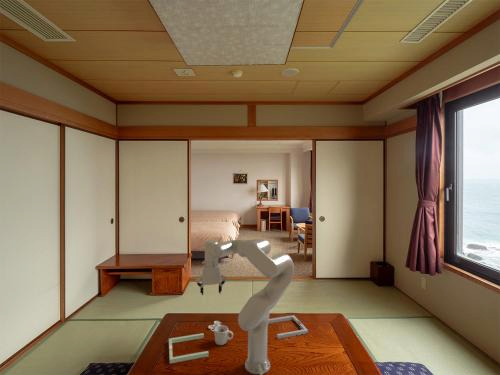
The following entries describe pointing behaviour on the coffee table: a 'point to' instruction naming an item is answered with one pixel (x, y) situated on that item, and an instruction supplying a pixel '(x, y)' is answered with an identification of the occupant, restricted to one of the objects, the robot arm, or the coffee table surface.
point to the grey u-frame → (293, 333)
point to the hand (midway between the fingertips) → (211, 293)
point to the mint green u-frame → (189, 356)
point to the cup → (222, 334)
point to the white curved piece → (216, 323)
